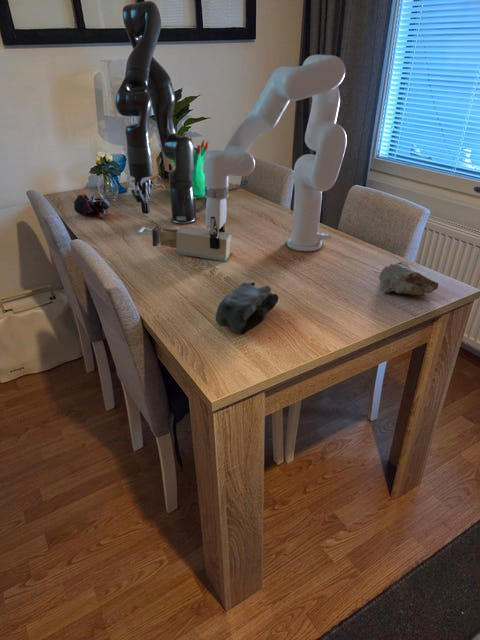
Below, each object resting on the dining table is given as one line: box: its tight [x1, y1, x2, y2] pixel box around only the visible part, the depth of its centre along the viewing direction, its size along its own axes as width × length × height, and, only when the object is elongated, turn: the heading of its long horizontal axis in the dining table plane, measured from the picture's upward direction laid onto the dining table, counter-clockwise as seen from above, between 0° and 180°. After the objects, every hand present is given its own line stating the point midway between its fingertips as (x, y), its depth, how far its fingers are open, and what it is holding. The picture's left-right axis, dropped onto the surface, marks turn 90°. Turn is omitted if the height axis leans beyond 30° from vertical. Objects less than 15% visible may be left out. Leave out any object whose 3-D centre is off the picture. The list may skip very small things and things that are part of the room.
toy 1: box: [73, 194, 111, 220], centre depth 187 cm, size 12×9×15 cm
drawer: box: [136, 224, 179, 249], centre depth 154 cm, size 22×5×6 cm, turn 77°
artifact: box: [378, 261, 439, 296], centre depth 132 cm, size 18×7×15 cm
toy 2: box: [168, 137, 209, 200], centre depth 210 cm, size 20×20×25 cm
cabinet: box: [176, 225, 232, 262], centre depth 152 cm, size 18×6×8 cm, turn 77°
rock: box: [215, 281, 279, 335], centre depth 115 cm, size 18×11×8 cm, turn 152°
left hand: (145, 212), depth 151 cm, fingers closed
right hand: (217, 244), depth 151 cm, fingers closed on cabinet, 6 cm apart
